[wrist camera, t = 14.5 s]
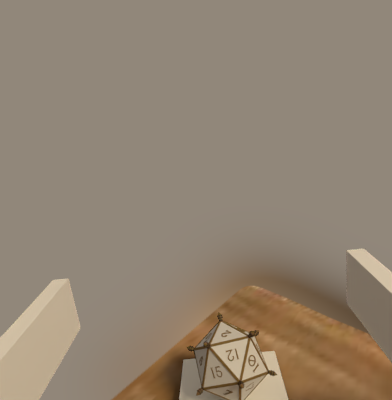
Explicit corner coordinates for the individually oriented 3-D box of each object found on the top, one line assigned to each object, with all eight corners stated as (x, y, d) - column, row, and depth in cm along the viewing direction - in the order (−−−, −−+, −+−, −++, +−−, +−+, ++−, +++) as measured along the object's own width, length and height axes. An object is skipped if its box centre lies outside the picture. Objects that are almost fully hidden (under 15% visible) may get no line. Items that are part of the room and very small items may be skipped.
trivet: (174, 464, 30) (171, 451, 30) (183, 369, 42) (182, 358, 42) (303, 455, 29) (302, 441, 29) (276, 360, 41) (275, 349, 41)
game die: (226, 406, 38) (207, 318, 42) (295, 397, 34) (267, 302, 38) (183, 433, 31) (165, 323, 35) (264, 425, 27) (233, 303, 31)
